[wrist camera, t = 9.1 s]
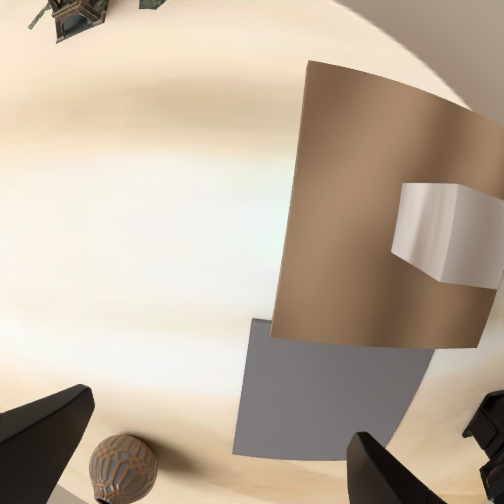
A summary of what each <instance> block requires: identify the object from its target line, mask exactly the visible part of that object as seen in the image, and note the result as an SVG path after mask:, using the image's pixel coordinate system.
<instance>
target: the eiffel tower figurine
mask: <svg viewBox="0 0 504 504" xmlns="http://www.w3.org/2000/svg"><path fill="white" fill-rule="evenodd" d="M108 1H109V0H48V2H49V3H48V4H47V5H46V6H45V7H44V8H43V9H42V11H41V12H40V13H39V14H38V15H37V16H36V18H35V19H34V20H33V21H32V23H31V24H30V25H29V27H28V28H29V29H30V30H31V29H32V28H33V27H34V25H35V24H36V23H37V21H38V19H39V18H41V17H42V16H43V14H44V12H45V11H46V10H50V9H51V7H52V10H53V12H52V15H51V16H52V17H53V18H55V24H56V33H57V41H56V44H57V43H59V42H61V41H63V40H65V39H67V38H69V37H71V36H74V35H76V34H78V33H80V32H83V31H85V30H87V29H90V28H92V27H95V26H97V25H100V24H102V23H104V21H105V16H106V11H107V6H108ZM164 1H165V0H140V3H139V9H154V10H156V9H157V8H158V7H159V6H160V5H161V4H162V3H163V2H164ZM50 5H51V7H50Z"/></svg>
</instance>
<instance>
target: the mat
mask: <svg viewBox="0 0 504 504" xmlns="http://www.w3.org/2000/svg"><path fill="white" fill-rule="evenodd" d="M271 323H272V321H267V320H260V319H252V323H251V330H250V337H249V344H248V351H247V358H246V364H245V371H244V378H243V385H242V392H241V399H240V405H239V412H238V419H237V425H236V432H235V439H234V445H233V452H232V454H234V455H242V456H250V457H259V458H269V459H282V460H303V461H340V460H347V455H346V451H347V447H348V445H349V443H350V441H351V439H352V437H353V435H354V433H355V432H362V431H366V432H368V433H369V434H371V435H372V436H373V437H374V438H375V439H376V440H377V441H378V442H379V443H380V444H381V445H382V446H383V447H384V448H385V446H386V445H387V443H388V442H389V440H390V438H391V437H392V435H393V433H394V432H395V430H396V428H397V426H398V425H399V423H400V421H401V419H402V417H403V416H404V414H405V412H406V410H407V408H408V406H409V404H410V402H411V400H412V398H413V396H414V394H415V392H416V390H417V388H418V386H419V384H420V382H421V380H422V377H423V375H424V373H425V371H426V368H427V366H428V364H429V361H430V359H431V357H432V354H433V352H434V349H423V348H386V347H366V346H351V345H337V344H325V343H315V342H305V341H295V340H286V339H278V338H270V331H271Z"/></svg>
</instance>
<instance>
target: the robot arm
mask: <svg viewBox="0 0 504 504" xmlns="http://www.w3.org/2000/svg"><path fill="white" fill-rule="evenodd" d="M94 408H95V402H94V398H93V394H92V390H91V388H90V387H88V386H86V385H83V384H78V385H75V386H73V387H70V388H68V389H65V390H63V391H60V392H58V393H55V394H52V395H50V396H47V397H45V398H42V399H39V400H37V401H34V402H31V403H28V404H26V405H23V406H20V407H17V408H14V409H12V410H9V411H6V412H4V413H0V504H46V503H47V501H48V499H49V497H50V495H51V493H52V491H53V490H54V488H55V486H56V484H57V482H58V480H59V478H60V477H61V475H62V473H63V471H64V469H65V468H66V466H67V464H68V462H69V460H70V459H71V457H72V455H73V453H74V452H75V450H76V448H77V446H78V445H79V443H80V441H81V439H82V436H83V434H84V432H85V429H86V427H87V425H88V422H89V420H90V418H91V415H92V413H93V411H94ZM462 436H463V438H467V437H471V436H473V437H474V438H475V440H476V441H477V443H478V444H479V446H480V448H481V449H482V450H484V451H485V453H486V455H487V456H488V458H489V459H490V460H489V461H488V462H487V463H486V464H485V465H484V466H482V467H481V468H480V469H479V470H480V473H481V478H482V481H483V485H484V488H485V491H486V495H487V499H488V500H489V501H492V502H493V503H494V504H504V391H501V392H496V393H491V394H488V395H487V396H486V397H485V399H484V401H483V402H482V404H481V406H480V407H479V409H478V411H477V412H476V414H475V416H474V417H473V419H472V420H471V422H470V424H469V425H468V427H467V428H466V430H465V431H464V433H463V434H462ZM346 455H347V484H348V494H349V501H350V504H447V503H446V502H444V501H443V500H442V499H441V498H440V497H438V496H437V495H436V494H435V493H434V492H432V491H431V490H429V488H428V487H427V486H426V485H424V484H423V483H422V482H421V481H420V480H419V479H418V478H417V477H415V476H414V475H413V474H412V473H411V472H410V471H409V470H408V469H407V468H406V467H404V466H403V465H402V464H401V463H400V462H399V461H398V460H397V459H396V458H395V457H394V456H393V455H392V454H390V453H389V452H388V451H387V450H386V449H385V448H384V447H383V446H382V445H381V444H380V443H379V442H378V441H377V440H376V439H375V438H374V437H373V436H372V435H371V434H369V433H368V432H366V431H362V432H355V433H354V435H353V437H352V439H351V441H350V443H349V445H348V447H347V451H346Z"/></svg>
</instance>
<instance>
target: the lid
mask: <svg viewBox="0 0 504 504" xmlns="http://www.w3.org/2000/svg"><path fill="white" fill-rule="evenodd" d="M503 272H504V128H503V127H501V126H499V125H497V124H495V123H494V122H492V121H490V120H488V119H486V118H484V117H482V116H480V115H478V114H476V113H474V112H472V111H470V110H468V109H466V108H464V107H462V106H459V105H457V104H455V103H453V102H450V101H448V100H446V99H443V98H441V97H438V96H436V95H433V94H431V93H428V92H426V91H423V90H420V89H417V88H415V87H412V86H409V85H406V84H403V83H400V82H397V81H394V80H391V79H387V78H384V77H380V76H377V75H373V74H370V73H366V72H362V71H358V70H354V69H350V68H345V67H341V66H336V65H332V64H326V63H321V62H316V61H310V60H309V61H308V64H307V68H306V77H305V87H304V96H303V105H302V114H301V123H300V131H299V139H298V147H297V155H296V163H295V171H294V179H293V186H292V193H291V201H290V208H289V215H288V222H287V229H286V235H285V242H284V249H283V255H282V262H281V268H280V274H279V281H278V287H277V293H276V299H275V305H274V311H273V317H272V323H271V331H270V338H278V339H286V340H295V341H305V342H315V343H325V344H337V345H351V346H366V347H386V348H423V349H448V348H477V345H478V343H479V341H480V338H481V335H482V333H483V330H484V328H485V325H486V322H487V319H488V316H489V313H490V310H491V307H492V304H493V301H494V298H495V295H496V291H497V289H498V290H499V287H500V283H501V279H502V276H503Z"/></svg>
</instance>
